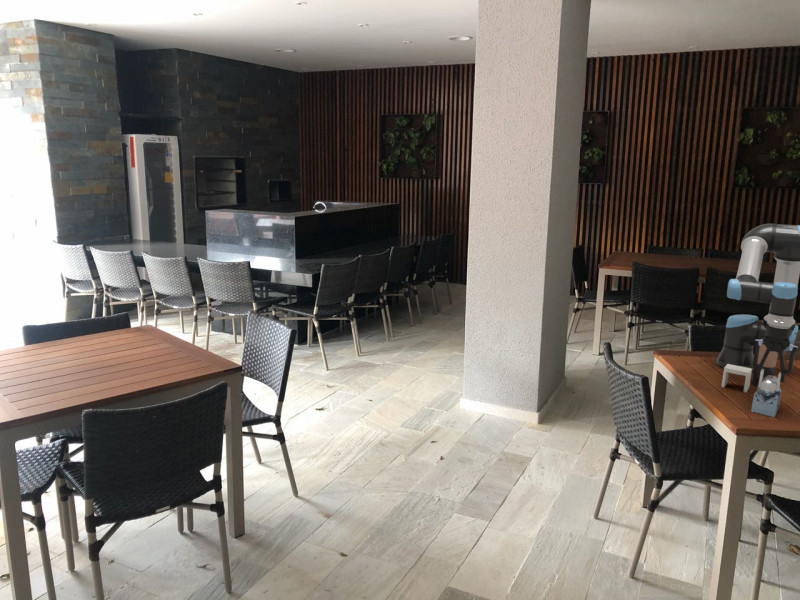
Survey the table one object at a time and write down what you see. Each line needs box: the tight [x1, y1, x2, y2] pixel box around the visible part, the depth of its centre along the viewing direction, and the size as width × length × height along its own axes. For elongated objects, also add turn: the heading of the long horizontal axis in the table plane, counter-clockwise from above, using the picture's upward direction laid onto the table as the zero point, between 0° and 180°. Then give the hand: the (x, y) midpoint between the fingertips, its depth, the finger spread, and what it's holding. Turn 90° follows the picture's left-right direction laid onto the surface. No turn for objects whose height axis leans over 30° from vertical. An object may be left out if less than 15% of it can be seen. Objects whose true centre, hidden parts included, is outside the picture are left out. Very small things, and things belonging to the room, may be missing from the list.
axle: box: [759, 375, 778, 396], centre depth 233 cm, size 10×5×5 cm, turn 144°
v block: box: [750, 387, 782, 418], centre depth 234 cm, size 12×7×8 cm, turn 144°
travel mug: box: [751, 335, 779, 387], centre depth 260 cm, size 8×8×20 cm
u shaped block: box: [721, 364, 753, 393], centre depth 257 cm, size 7×9×8 cm
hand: (768, 388), depth 233 cm, fingers closed on axle, 5 cm apart
